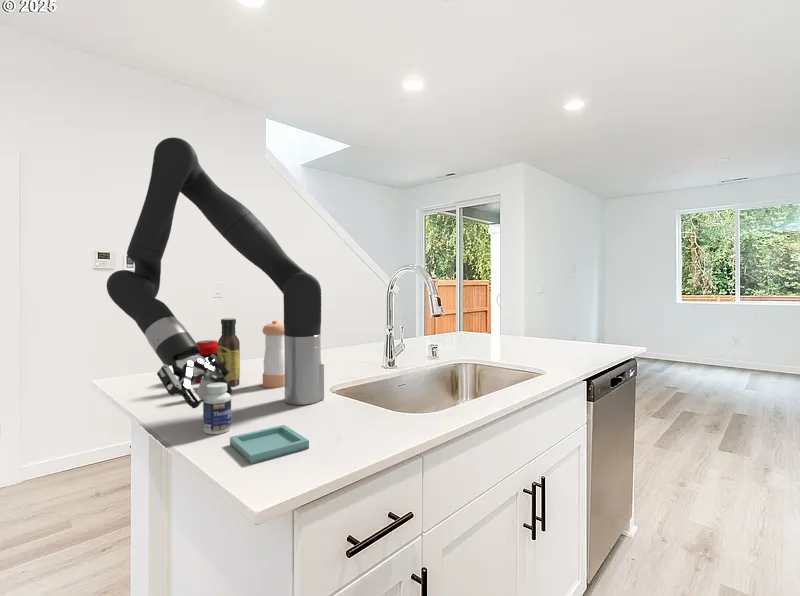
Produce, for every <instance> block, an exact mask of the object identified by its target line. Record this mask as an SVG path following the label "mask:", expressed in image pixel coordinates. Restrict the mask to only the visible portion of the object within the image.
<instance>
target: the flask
mask: <svg viewBox="0 0 800 596" xmlns="http://www.w3.org/2000/svg"><path fill="white" fill-rule="evenodd" d="M209 372H210V371H208V370H207V372H206V374H205V375H207V374H208V373H209ZM212 377H214V378H217V377H216V376H214V375H212ZM211 383H212V382H210V381H204V380H202V379H201V382H199V384H198V388H197V391H196V392H195V393H196V394H197V396H198V397H199V398H200V400H201V401H203V398H204V397H205V396H206V395H207V394H208V393H207V391H206V390H207V385H208V384H211Z"/></svg>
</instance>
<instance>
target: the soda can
mask: <svg viewBox="0 0 800 596" xmlns="http://www.w3.org/2000/svg"><path fill="white" fill-rule="evenodd" d="M196 344H197V345H198V346H199V349H200V355H201V356H202V357H204V358H208V357H210V356H211V355H212V354H214V355H215V356H216V357H217V345H218V340H215V339H212V340H210V339H209V340H200V341H197V342H196ZM194 381H195V382H196V383H200V382H201V379H200V380H194Z"/></svg>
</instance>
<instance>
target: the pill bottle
mask: <svg viewBox="0 0 800 596" xmlns="http://www.w3.org/2000/svg"><path fill="white" fill-rule="evenodd" d="M206 391H207V393H208V394H207V395H206V396H205V397H204V398H203V400H202V401H203V402H202V407H203V408H202V413H203V417H202V420H203V432H204V433H205V434H208V435H219V434H225V433H227V432H229V431H230V430H231V429H232V395H231V394H229V393H226V391H227V383H222V382H218V383H211V384H208V385H207V390H206Z"/></svg>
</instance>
